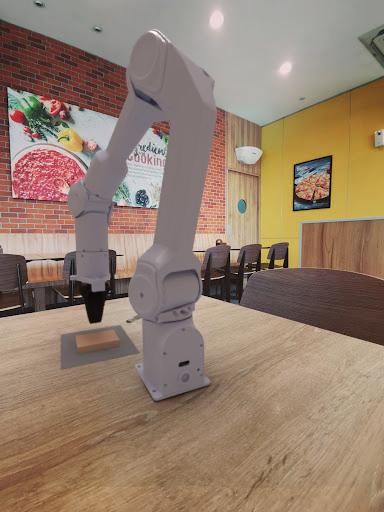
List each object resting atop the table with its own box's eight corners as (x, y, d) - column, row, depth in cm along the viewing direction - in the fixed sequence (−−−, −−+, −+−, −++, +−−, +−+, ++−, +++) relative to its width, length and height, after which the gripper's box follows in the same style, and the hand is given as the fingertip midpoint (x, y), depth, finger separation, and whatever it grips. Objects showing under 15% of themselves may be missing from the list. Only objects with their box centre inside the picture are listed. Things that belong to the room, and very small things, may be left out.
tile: (113, 335, 52) (119, 346, 46) (75, 342, 49) (77, 354, 43) (113, 329, 52) (119, 339, 46) (75, 335, 48) (77, 347, 43)
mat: (139, 355, 44) (139, 352, 44) (61, 372, 38) (60, 369, 38) (120, 326, 58) (120, 325, 58) (60, 336, 53) (60, 334, 52)
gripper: (67, 250, 53) (70, 315, 54) (70, 254, 40) (73, 338, 41) (103, 249, 56) (105, 310, 57) (116, 252, 43) (119, 331, 44)
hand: (95, 322), depth 49 cm, fingers closed
